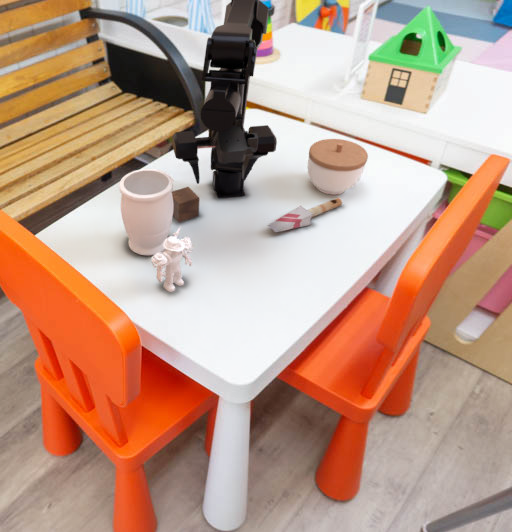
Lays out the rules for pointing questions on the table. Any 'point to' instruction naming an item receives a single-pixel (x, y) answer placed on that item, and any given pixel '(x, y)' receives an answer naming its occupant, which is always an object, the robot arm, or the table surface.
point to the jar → (147, 209)
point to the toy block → (185, 204)
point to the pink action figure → (172, 260)
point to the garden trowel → (302, 216)
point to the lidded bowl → (335, 165)
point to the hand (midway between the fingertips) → (220, 180)
